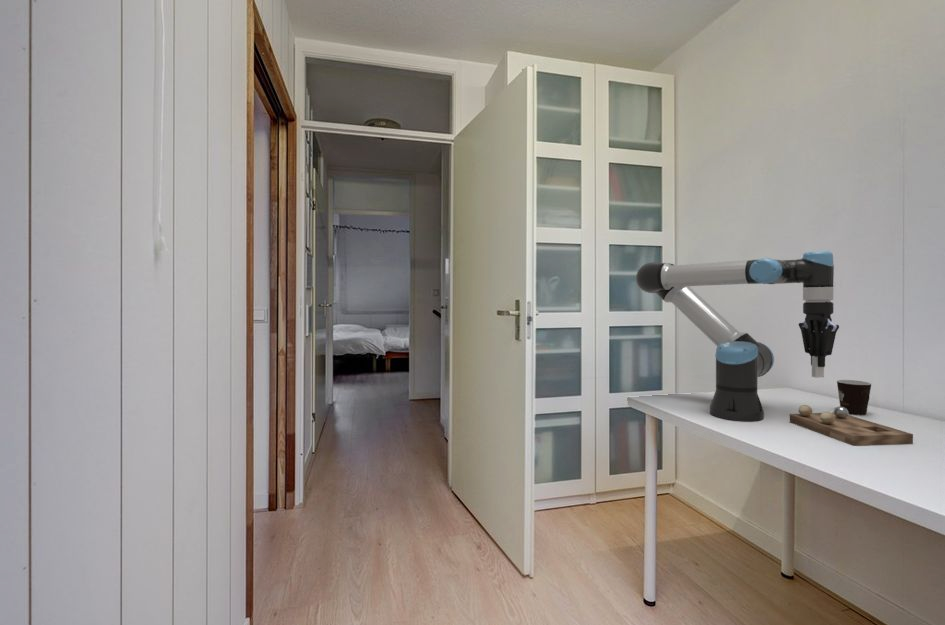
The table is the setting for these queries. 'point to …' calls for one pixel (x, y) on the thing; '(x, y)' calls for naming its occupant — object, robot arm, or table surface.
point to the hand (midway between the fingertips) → (817, 376)
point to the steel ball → (841, 412)
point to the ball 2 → (827, 417)
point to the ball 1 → (805, 410)
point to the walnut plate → (853, 430)
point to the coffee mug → (854, 395)
